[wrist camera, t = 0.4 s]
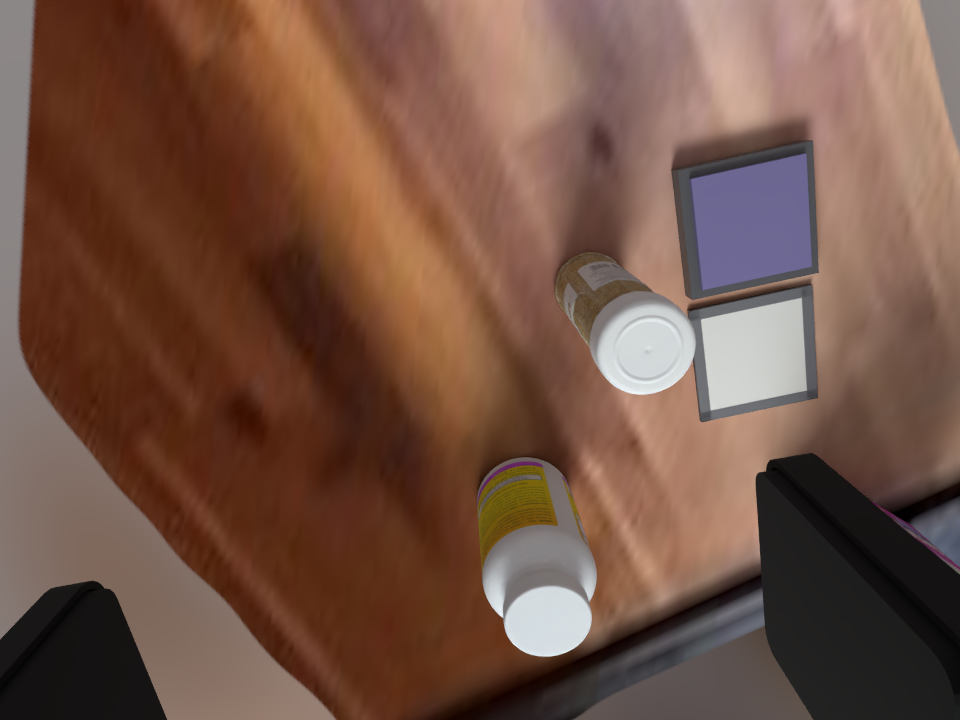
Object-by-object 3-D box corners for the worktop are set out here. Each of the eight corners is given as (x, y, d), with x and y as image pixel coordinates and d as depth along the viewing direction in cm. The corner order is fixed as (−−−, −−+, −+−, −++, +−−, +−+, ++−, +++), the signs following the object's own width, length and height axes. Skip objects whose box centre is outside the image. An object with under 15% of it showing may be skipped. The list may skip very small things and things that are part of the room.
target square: (687, 310, 43) (688, 311, 43) (809, 284, 43) (812, 285, 42) (699, 420, 45) (701, 422, 45) (815, 396, 45) (817, 397, 45)
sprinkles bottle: (541, 302, 42) (579, 373, 30) (575, 237, 41) (629, 283, 28) (603, 331, 43) (666, 412, 30) (638, 268, 42) (718, 326, 29)
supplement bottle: (457, 504, 47) (458, 633, 35) (515, 436, 45) (538, 546, 33) (530, 551, 48) (556, 691, 36) (589, 487, 47) (636, 610, 35)
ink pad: (671, 169, 40) (680, 170, 38) (802, 140, 40) (816, 140, 38) (685, 295, 43) (694, 301, 41) (808, 268, 42) (821, 273, 41)
